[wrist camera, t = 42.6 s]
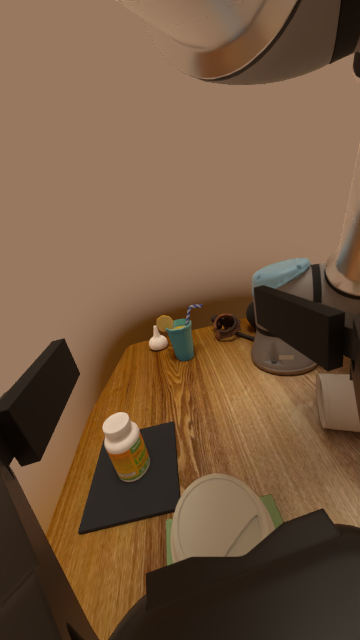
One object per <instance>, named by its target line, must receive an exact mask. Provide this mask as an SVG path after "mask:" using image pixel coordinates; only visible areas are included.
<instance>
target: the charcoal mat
mask: <svg viewBox="0 0 360 640" xmlns="http://www.w3.org/2000/svg"><path fill="white" fill-rule="evenodd" d="M140 433H141V436H142V438H143V441H144V444H145V446H146V449H147V451H148V454H149V457H150V464H149V467H148V470H147V471H146V473H145V474H144V475H143V476H142V477H141V478H139V479H138V480H136V481H133V482H125V481H123V480H121V479H120V477H119V476H118V474H117V471H116V469H115V467H114V465H113V463H112V461H111V459H110V457H109V455H108V452H107V450H106V448H105V445H104V441H103V444H102V448H101V452H100V455H99V459H98V462H97V466H96V470H95V473H94V477H93V480H92V484H91V488H90V491H89V495H88V498H87V502H86V506H85V509H84V513H83V516H82V520H81V524H80V527H79V531H78V533H79V534H84V533H88V532H92V531H96V530H100V529H105V528H109V527H113V526H117V525H121V524H125V523H129V522H133V521H137V520H141V519H146V518H150V517H154V516H158V515H162V514H166V513H170V512H174V511H175V509H176V506H177V503H178V501H179V499H180V489H179V477H178V464H177V452H176V439H175V426H174V421H173V422H169V423H165V424H160V425H156V426H152V427H148V428H144V429H140ZM104 440H105V438H104Z"/></svg>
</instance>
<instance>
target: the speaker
mask: <svg viewBox="0 0 360 640" xmlns="http://www.w3.org/2000/svg"><path fill="white" fill-rule="evenodd" d="M246 315H247V320H248V321H249V323H250V324H251V325H252V326H253V327H255V328H256V321H255V312H254V304H253V301H252V302H251V303H250V304H249V306H248V308H247V312H246Z"/></svg>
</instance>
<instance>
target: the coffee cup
mask: <svg viewBox="0 0 360 640" xmlns="http://www.w3.org/2000/svg"><path fill="white" fill-rule="evenodd" d="M274 530H275V527H274V524H273V522H272V519H271V517H270V515H269V513H268V511H267V509H266V507H265V505H264V504H263V502H262V501H261V500H260V498H259V497H258V496H257V495H256V494H255V493H254V492H253V490H252V489H251V488H250V487H249V486H248V485H246V484H245V483H244V482H242V481H241V480H239V479H238V478H235V477H233V476H230V475H227V474H219V473H217V474H209V475H206V476H203V477H201V478H199V479H197V480H195V481H194V482H193V483H192V484H190V485H189V486H188V487H187V489H186V490H185V491H184V492H183V494H182V495H181V497H180V499H179V501H178V503H177V506H176V509H175V512H174V517H173V521H172V526H171V538H170V541H171V554H172V561H173V563H176V562H179V561H181V560H184V559H187V558H189V557H238V556H243V555H245V554H247V553H248V552H249V551H250V550H252V549H253V548H254V547H255V546H256V545H257V544H259V543H260V542H261V541H262V540H263V539H264V538H265V537H267V536H268V535H269V534H270V533H271V532H272V531H274Z"/></svg>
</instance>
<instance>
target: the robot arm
mask: <svg viewBox="0 0 360 640" xmlns="http://www.w3.org/2000/svg"><path fill="white" fill-rule="evenodd" d="M115 1H117V2H118V3H120V4H121V5H123V6H124V7H126V8H127V9H129V10H130V11H132V12H134V13H135V14H137V15H138V16H140V17H141V18H143V21H144V24H145V26H146V28H147V31H148V32H149V35H150V36H151V38H152V40H153V42H154V43H155V45H156V46H157V48H158V49H159V51H160V52H161V54H162V55H163V56H164V57H165V58H166V59H167V60H168V61H169V62H170V63H171V64H172V65H173V66H175V67H176V68H177V69H178V70H180V71H182V72H183V73H185V74H187V75H190V76H192V77H195V78H197V79H200V80H203V81H206V82H211V83H219V84H228V85H252V84H266V83H272V82H278V81H283V80H287V79H290V78H294V77H298V76H301V75H304V74H307V73H310V72H312V71H315V70H317V69H320V68H322V67H323V66H325V65H327V64H331V63H333V62H335V61H337V60H339V59H341V58H343V57H346V56H348V55H350V54H353V53H355V56H354V63H353V77H354V78H355V80H356V81H357V82H358V83H359V84H360V0H115ZM252 296H253V304H254V312H255V321H256V335H255V337H252V336H249V335H246V334H242V333H239V332H236V333H235V334H236V335H239V336H242V337H245V338H248V339H251V340H254V343H253V346H252V360H253V363H254V364H255V365H256V366H257V367H258V368H260V369H261V370H263V371H266V372H268V373H272V374H276V375H299V374H304V373H307V372H309V371H311V370H313V369H314V368H316V367H317V366H318V365H319V366H321V367H322V368H324V369H325V370H327V371H330V370H333V369H337V368H340V367H343V355H345V356H346V357H348V358H350V359H351V363H350V380H352V381H353V386H354V392H355V398H356V404H357V410H358V416H359V422H360V145H359V149H358V155H357V159H356V164H355V169H354V174H353V179H352V185H351V189H350V195H349V200H348V204H347V210H346V215H345V220H344V225H343V230H342V235H341V240H340V245H339V248H337V249H336V250H335V251H333V253H332V254H331V255H330V256H329V258H328V259H327V262H326V263H322V264H314V265H311V263H310V261H309V259H307V258H298V259H290V260H286V261H281V262H278V263H274V264H272V265H269V266H266V267H264V268H262V269H260V270H258V271H257V272H256V273H255V274H254V275H253V277H252ZM79 375H80V373H79V370H78V368H77V365H76V364H75V361H74V359H73V357H72V354H71V352H70V350H69V348H68V346H67V343H66V341H65V339H60V340H56V341H52V342H51V344H50V345H49V346H48V347H47V348H46V349H45V350H44V351H43V352H42V354H41V355H40V356H39V357H38V358H37V359H36V360H35V361H34V363H33V364H32V365H31V366H30V367H29V368H28V369H27V371H26V372H25V373H24V374H23V375H22V376H21V377H20V378H19V380H18V381H17V382H16V383H15V384H14V385H13V386H12V387H11V388H10V390H8V391H7V392H6V393H4V394H3V395H2V396H1V398H0V640H99V639H98V637H97V636H96V634H95V632H94V631H93V629H92V627H91V625H90V624H89V622H88V620H87V618H86V616H85V614H84V612H83V610H82V608H81V606H80V604H79V602H78V600H77V598H76V596H75V594H74V592H73V590H72V588H71V586H70V584H69V582H68V580H67V578H66V576H65V574H64V572H63V570H62V568H61V566H60V564H59V562H58V560H57V558H56V556H55V554H54V552H53V550H52V548H51V546H50V544H49V542H48V540H47V538H46V536H45V534H44V532H43V530H42V528H41V526H40V524H39V522H38V520H37V518H36V516H35V514H34V512H33V510H32V508H31V506H30V504H29V502H28V500H27V498H26V496H25V494H24V492H23V490H22V488H21V486H20V484H19V482H18V480H17V478H16V476H15V474H14V472H13V471H12V469H11V468H10V466H9V465H10V463H11V462H12V460H13V458H14V457H15V458H16V459H17V461H18V462H19V464H20V465H21V466H25V465H28V464H32V463H35V462H38V461H40V460H41V458H42V456H43V454H44V452H45V450H46V447H47V445H48V443H49V441H50V439H51V436H52V434H53V432H54V430H55V427H56V425H57V423H58V421H59V419H60V416H61V414H62V412H63V410H64V408H65V406H66V403H67V401H68V399H69V397H70V395H71V393H72V390H73V388H74V386H75V384H76V382H77V379H78V377H79ZM146 591H147V594H146V595H144V596H143V597H142V598H141V599H140V600H139V601H138V602H137V603H136V604H135V605H134V606H133V607H132V608H131V609H130V610H129V611H128V612H127V614H126V615H125V616H124V618H123V619H122V620H121V621H120V623H119V624H118V625H117V627H116V629H115V630H114V632H113V633H112V635H111V636H110V638H109V639H108V640H360V528H359V527H355V526H351V525H344V524H334V523H333V522H332V521H331V519H330V518H329V516H328V515H327V513H326V512H325V510H324V509H323V508H322V509H320V510H317V511H314V512H311V513H309V514H306V515H303V516H301V517H298V518H295V519H292V520H290V521H287V522H284V523H282V524H281V525H279V526H278V527H277V528H276V529H275V530H274V531H272V532H271V533H270V534H269V535H268V536H267V537H265V538H264V539H263V540H262V541H261V542H260V543H259V544H257V545H256V546H255V547H254V548H253V549H252V550H250V551H249V552H248V553H247V554H245V555H243V556H238V557H189V558H187V559H184V560H181V561H179V562H176V563H173V564H170V565H168V566H165V567H162V568H160V569H157V570H154V571H152V572H149V573H146Z"/></svg>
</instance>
